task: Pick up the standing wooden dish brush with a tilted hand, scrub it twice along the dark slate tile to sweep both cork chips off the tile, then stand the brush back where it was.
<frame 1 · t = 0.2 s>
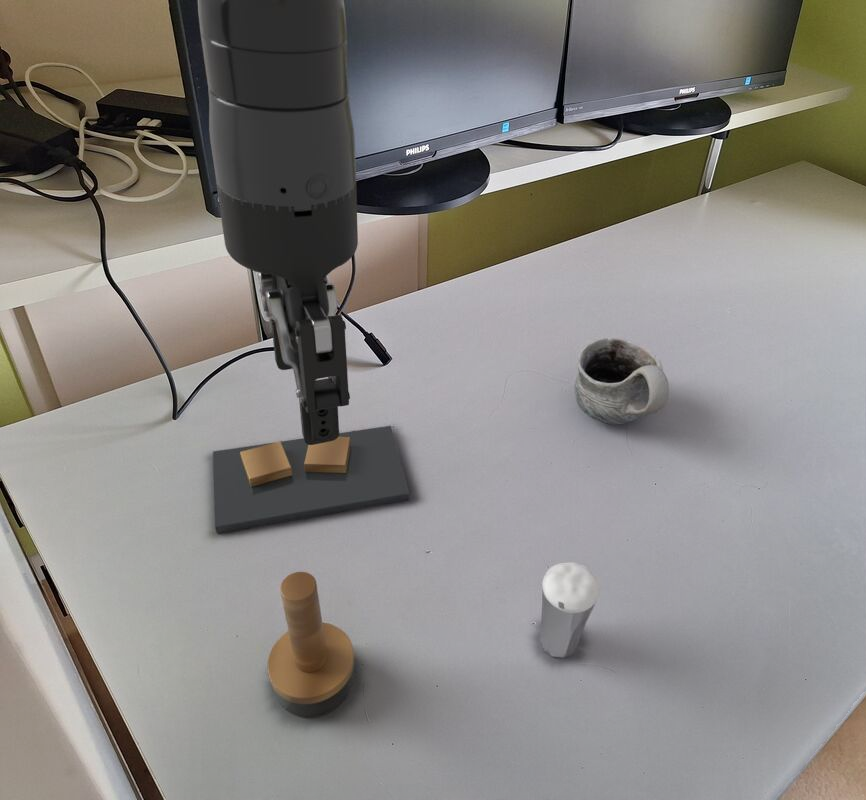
hand: (306, 400, 52), 23 cm above the table, tool pointing down, fingers open, 8 cm apart
mug: (618, 417, 89), on the table
tile: (310, 478, 77), on the table
chip a: (266, 467, 76), point 1 cm above the table, touching tile
chip b: (328, 458, 78), point 1 cm above the table, touching tile
brush: (315, 681, 61), on the table
milkshake: (556, 646, 65), on the table
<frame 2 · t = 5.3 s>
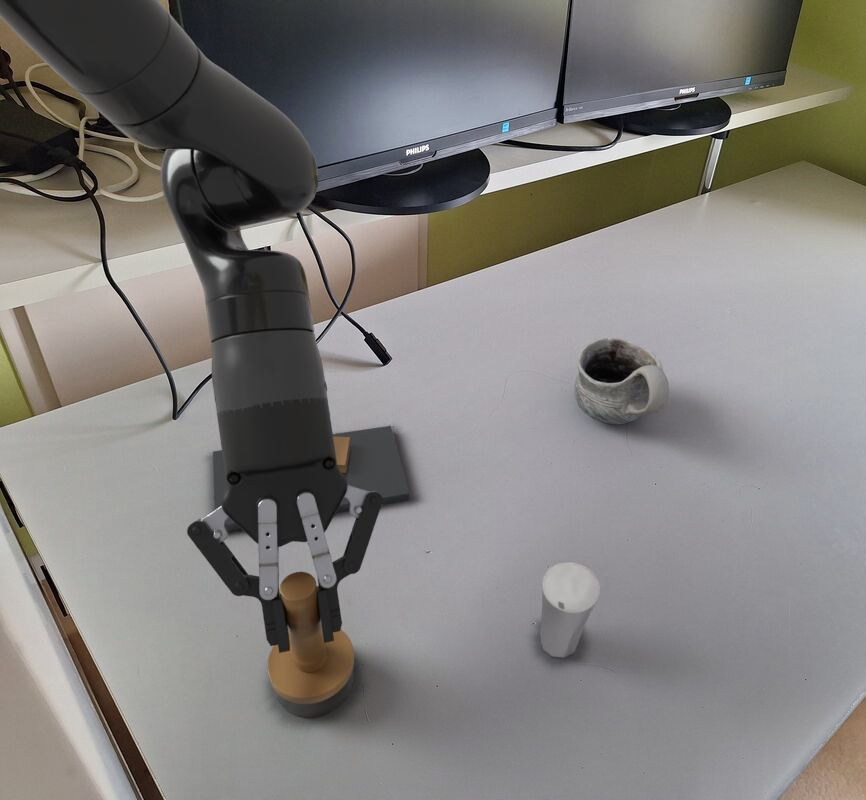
hand: (307, 643, 54), 9 cm above the table, tool tilted 45°, fingers closed on brush, 2 cm apart
brush: (314, 681, 61), on the table, touching gripper
everything else where it was.
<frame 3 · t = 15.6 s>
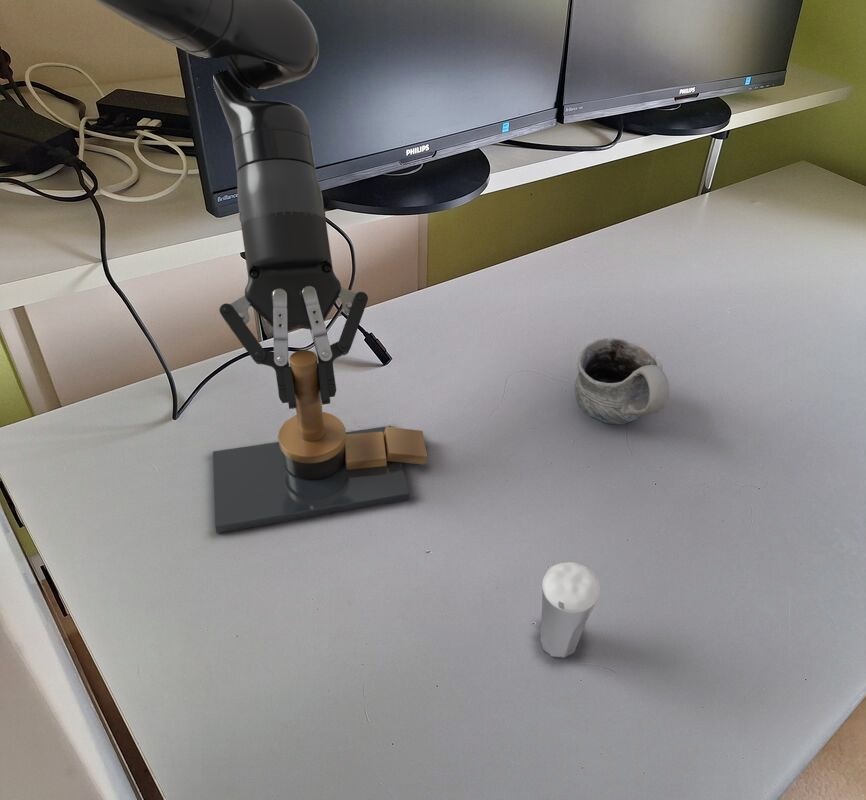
hand: (309, 404, 70), 10 cm above the table, tool tilted 45°, fingers closed on brush, 2 cm apart
chip a: (365, 454, 79), point 1 cm above the table
chip b: (403, 449, 80), point 1 cm above the table, tilted 15°, touching tile
brush: (315, 457, 77), point 1 cm above the table, touching gripper
everything else where it was.
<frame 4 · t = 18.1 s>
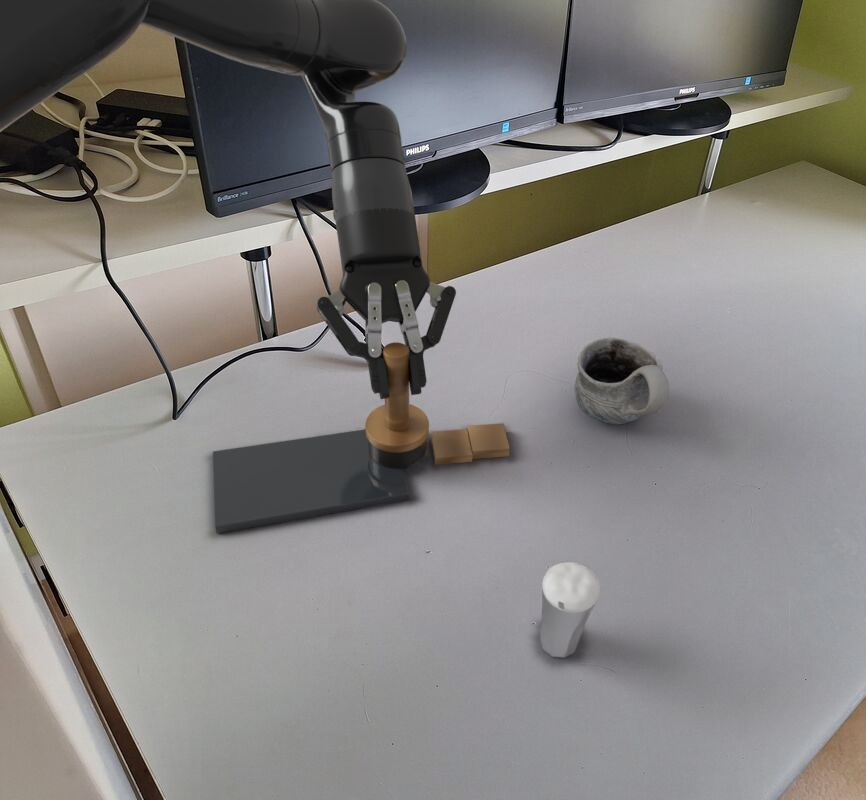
hand: (400, 395, 72), 10 cm above the table, tool tilted 45°, fingers closed on brush, 2 cm apart
chip a: (451, 450, 82), on the table
chip b: (487, 444, 83), on the table
brush: (397, 447, 80), point 1 cm above the table, touching gripper
everything else where it was.
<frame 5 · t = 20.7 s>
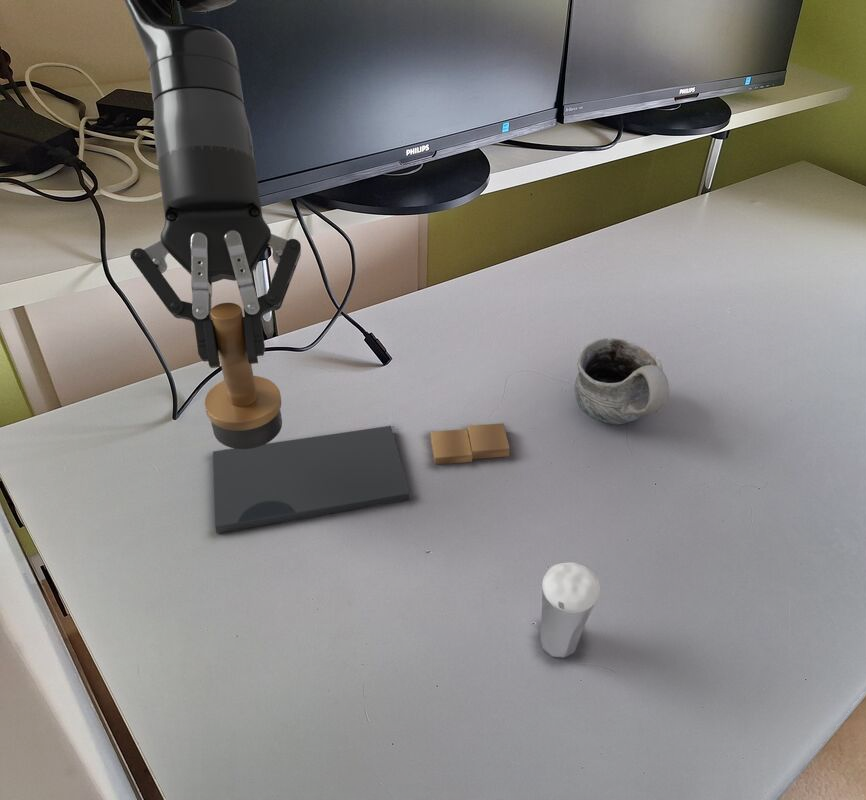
hand: (234, 363, 63), 17 cm above the table, tool tilted 45°, fingers closed on brush, 2 cm apart
brush: (248, 426, 70), point 8 cm above the table, touching gripper
everything else where it was.
when the fingers open (9 cm above the table, at t = 36.3 s): brush stays where it is, on the table.
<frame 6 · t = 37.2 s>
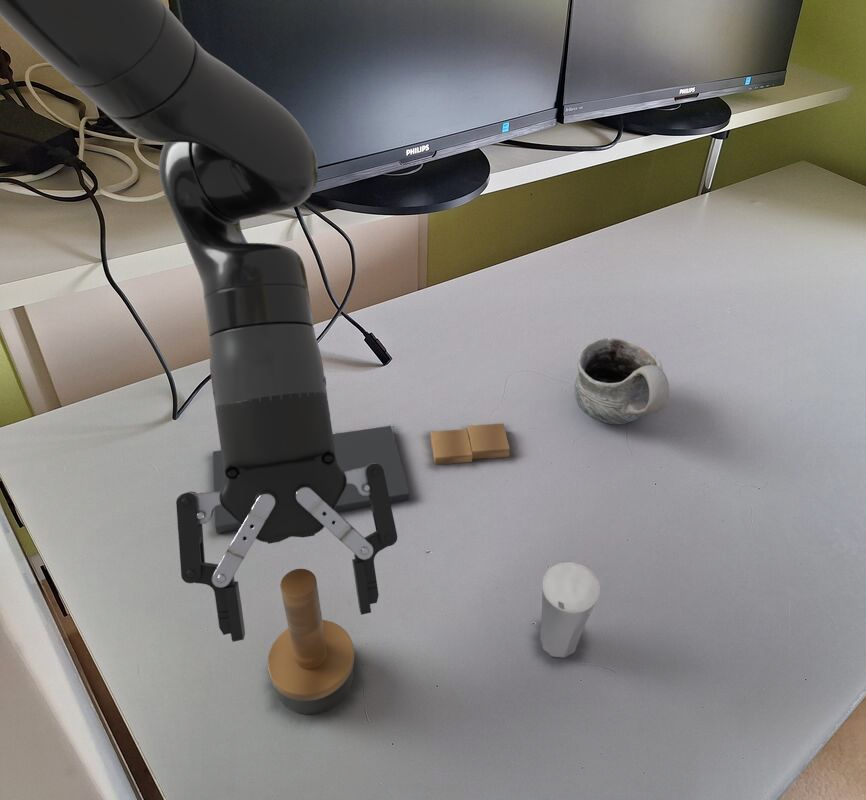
hand: (304, 624, 53), 10 cm above the table, tool tilted 45°, fingers open, 8 cm apart
brush: (315, 678, 61), on the table
everything else where it was.
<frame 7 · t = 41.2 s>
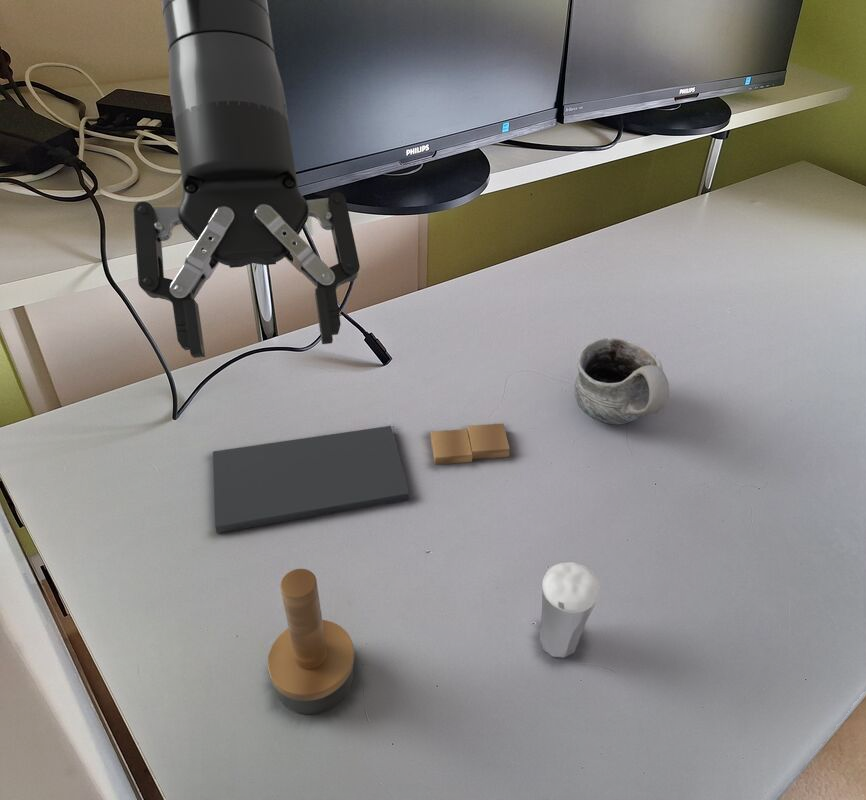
hand: (264, 349, 53), 25 cm above the table, tool tilted 45°, fingers open, 8 cm apart
nothing on the table moved.
at the end: chip a moved 18.8 cm from its start; chip b moved 16.8 cm from its start; brush tilted 0° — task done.
